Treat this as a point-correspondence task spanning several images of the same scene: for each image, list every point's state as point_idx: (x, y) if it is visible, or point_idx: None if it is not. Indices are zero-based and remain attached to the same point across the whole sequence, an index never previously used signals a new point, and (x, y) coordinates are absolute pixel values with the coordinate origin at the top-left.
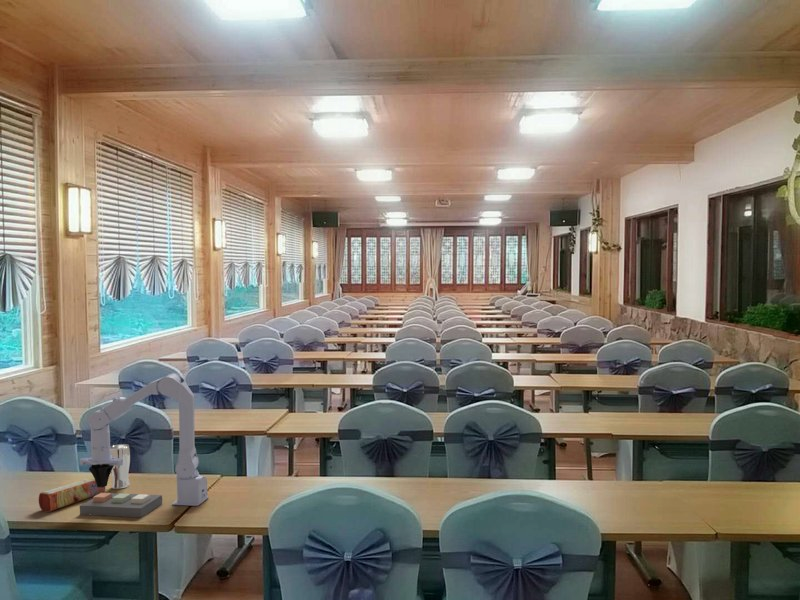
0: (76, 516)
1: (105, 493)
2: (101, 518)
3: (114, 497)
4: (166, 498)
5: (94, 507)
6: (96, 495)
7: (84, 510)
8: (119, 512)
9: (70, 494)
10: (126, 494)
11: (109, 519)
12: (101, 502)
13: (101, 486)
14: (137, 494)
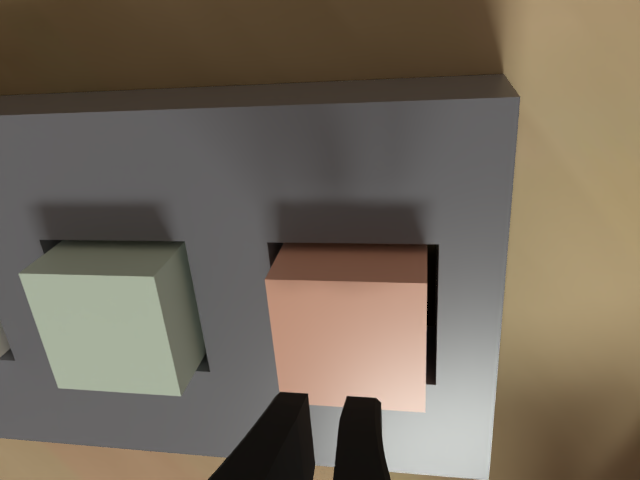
0: (513, 17)
1: (351, 393)
2: (170, 14)
3: (131, 283)
4: (25, 465)
5: (289, 101)
6: (418, 331)
7: (438, 85)
8: (7, 102)
9: None
10: (85, 372)
11: (66, 4)
12: (295, 231)
13: (296, 400)
14: (109, 440)
